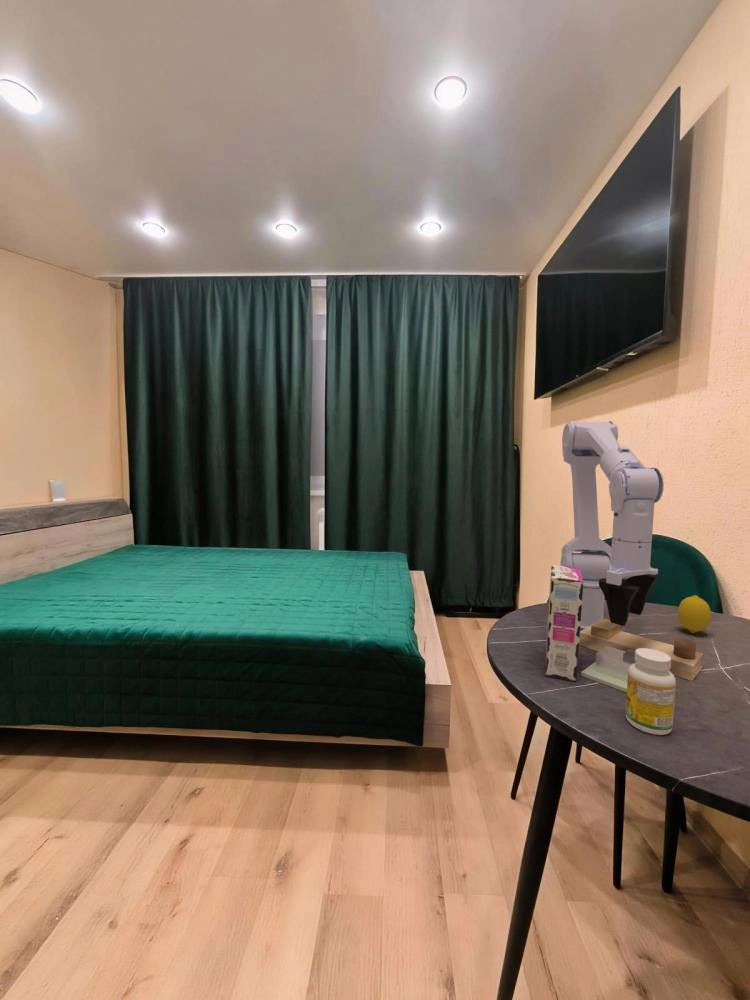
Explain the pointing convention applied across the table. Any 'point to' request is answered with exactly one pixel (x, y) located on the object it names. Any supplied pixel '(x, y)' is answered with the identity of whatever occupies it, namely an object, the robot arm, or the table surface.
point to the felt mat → (604, 678)
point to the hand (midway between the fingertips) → (626, 618)
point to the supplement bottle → (651, 692)
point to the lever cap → (614, 662)
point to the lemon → (694, 614)
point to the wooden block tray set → (609, 634)
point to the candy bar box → (564, 622)
